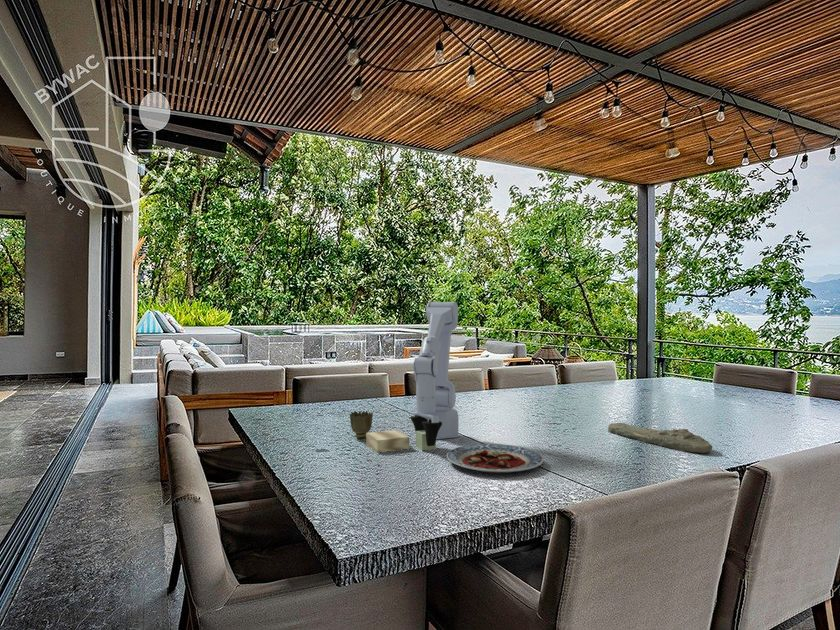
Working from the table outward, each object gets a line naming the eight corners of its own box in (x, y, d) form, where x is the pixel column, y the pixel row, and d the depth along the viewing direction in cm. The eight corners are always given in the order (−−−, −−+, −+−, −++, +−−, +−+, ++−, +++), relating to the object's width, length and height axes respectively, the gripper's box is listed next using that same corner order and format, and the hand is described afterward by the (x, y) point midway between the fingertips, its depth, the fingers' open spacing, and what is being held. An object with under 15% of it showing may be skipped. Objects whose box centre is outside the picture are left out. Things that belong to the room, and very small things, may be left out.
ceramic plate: (522, 486, 124) (522, 473, 124) (428, 468, 138) (428, 457, 138) (556, 459, 146) (556, 449, 146) (472, 446, 160) (472, 437, 160)
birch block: (396, 442, 165) (396, 429, 165) (409, 450, 156) (409, 436, 156) (366, 446, 161) (366, 433, 161) (377, 454, 152) (377, 440, 152)
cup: (368, 441, 166) (368, 415, 165) (346, 440, 167) (346, 414, 167) (375, 435, 173) (375, 411, 173) (354, 434, 174) (354, 410, 174)
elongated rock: (620, 433, 183) (601, 438, 178) (619, 418, 183) (599, 422, 178) (721, 451, 153) (700, 457, 148) (719, 432, 153) (699, 438, 148)
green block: (429, 446, 160) (429, 429, 160) (435, 449, 156) (435, 432, 156) (415, 447, 158) (416, 431, 158) (421, 451, 154) (421, 434, 154)
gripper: (404, 394, 162) (404, 438, 162) (423, 401, 149) (423, 449, 149) (425, 392, 165) (425, 436, 165) (445, 399, 151) (445, 447, 151)
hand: (425, 442), depth 157 cm, fingers open, 7 cm apart
